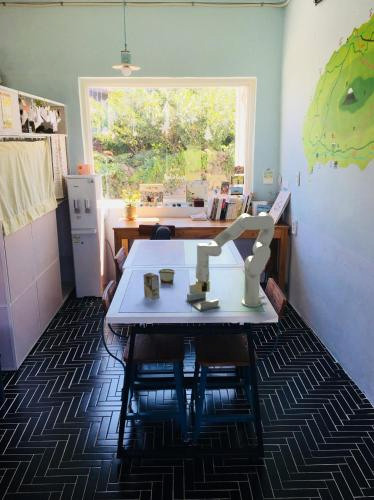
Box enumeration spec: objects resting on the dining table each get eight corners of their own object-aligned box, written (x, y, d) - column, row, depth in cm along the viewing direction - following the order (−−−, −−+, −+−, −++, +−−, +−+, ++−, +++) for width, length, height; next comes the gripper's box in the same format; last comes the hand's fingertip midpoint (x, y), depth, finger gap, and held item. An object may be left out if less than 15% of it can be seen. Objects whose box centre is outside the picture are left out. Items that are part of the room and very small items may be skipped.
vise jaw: (201, 294, 280) (201, 282, 278) (205, 297, 275) (205, 284, 273) (185, 297, 275) (185, 285, 272) (189, 301, 270) (189, 288, 267)
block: (206, 289, 268) (206, 279, 266) (209, 291, 264) (209, 281, 263) (195, 291, 264) (195, 281, 262) (198, 293, 261) (198, 283, 259)
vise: (204, 296, 279) (204, 290, 278) (219, 307, 262) (219, 299, 261) (185, 300, 273) (185, 293, 272) (200, 311, 256) (200, 304, 255)
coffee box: (159, 297, 279) (159, 275, 275) (152, 300, 275) (151, 277, 270) (151, 294, 285) (150, 272, 281) (143, 297, 281) (142, 274, 277)
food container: (177, 281, 309) (176, 269, 306) (174, 284, 303) (174, 271, 301) (161, 280, 312) (161, 268, 310) (158, 283, 307) (158, 270, 304)
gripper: (191, 260, 265) (191, 287, 270) (204, 267, 250) (204, 295, 255) (201, 258, 268) (201, 285, 273) (215, 265, 254) (214, 293, 259)
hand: (202, 289), depth 264 cm, fingers closed on block, 4 cm apart
